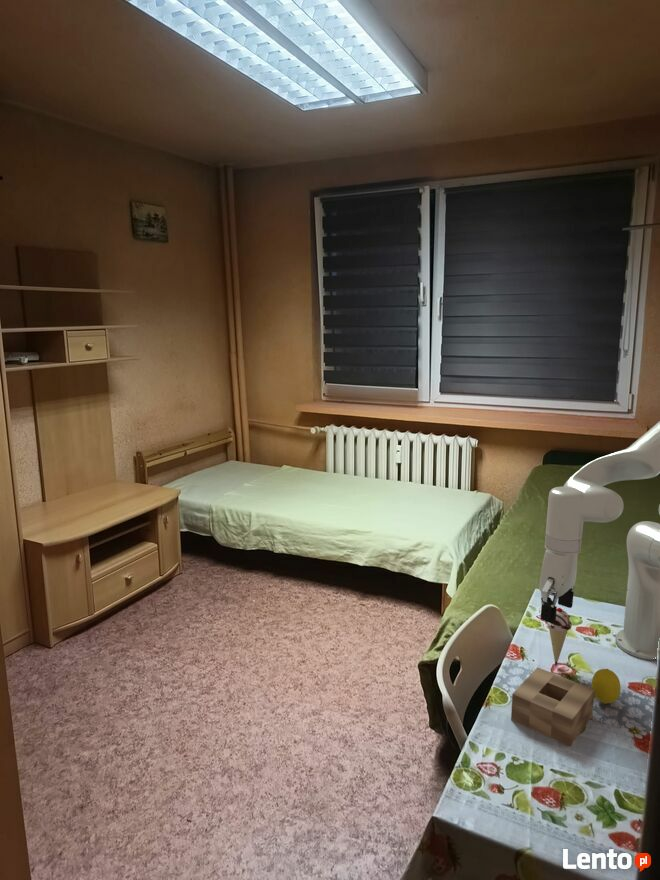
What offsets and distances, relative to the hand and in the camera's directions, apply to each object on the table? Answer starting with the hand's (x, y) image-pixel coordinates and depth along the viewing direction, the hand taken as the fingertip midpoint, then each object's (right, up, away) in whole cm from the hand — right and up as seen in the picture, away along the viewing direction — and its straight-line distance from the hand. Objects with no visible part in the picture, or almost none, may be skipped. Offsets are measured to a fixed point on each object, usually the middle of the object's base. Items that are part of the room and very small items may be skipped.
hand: (556, 613), depth 137 cm
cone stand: (-6, -17, -14) cm, 23 cm away
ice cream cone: (+1, -13, +3) cm, 14 cm away
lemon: (+6, -16, -10) cm, 20 cm away
